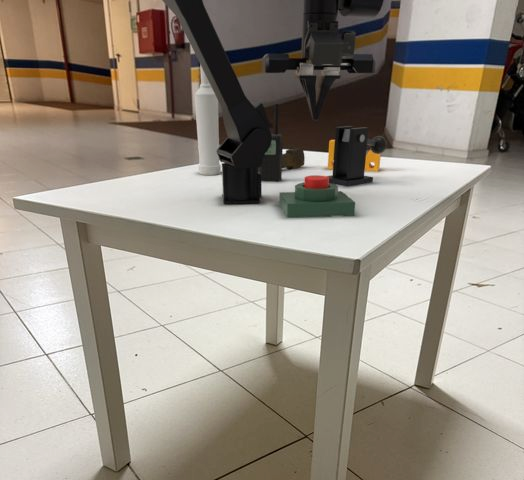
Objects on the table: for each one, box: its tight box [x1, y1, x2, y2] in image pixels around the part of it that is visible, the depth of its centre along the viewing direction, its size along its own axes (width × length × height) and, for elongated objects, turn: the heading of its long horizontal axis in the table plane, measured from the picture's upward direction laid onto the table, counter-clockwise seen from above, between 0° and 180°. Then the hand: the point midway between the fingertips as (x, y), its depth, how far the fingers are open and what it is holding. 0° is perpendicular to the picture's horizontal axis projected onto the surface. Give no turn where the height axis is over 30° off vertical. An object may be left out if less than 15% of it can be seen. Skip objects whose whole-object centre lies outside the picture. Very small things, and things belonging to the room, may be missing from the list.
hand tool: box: [258, 147, 306, 172], centre depth 117 cm, size 19×4×5 cm, turn 135°
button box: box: [278, 182, 356, 219], centre depth 82 cm, size 11×9×4 cm
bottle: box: [193, 64, 222, 176], centre depth 110 cm, size 5×5×25 cm
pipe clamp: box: [327, 139, 381, 172], centre depth 119 cm, size 12×4×6 cm, turn 73°
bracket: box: [326, 125, 374, 188], centre depth 103 cm, size 8×7×11 cm
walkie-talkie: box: [259, 103, 284, 183], centre depth 104 cm, size 5×3×15 cm
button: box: [303, 175, 329, 189], centre depth 81 cm, size 4×4×2 cm
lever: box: [342, 129, 388, 155], centre depth 104 cm, size 12×4×4 cm, turn 128°
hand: (315, 119), depth 89 cm, fingers closed
